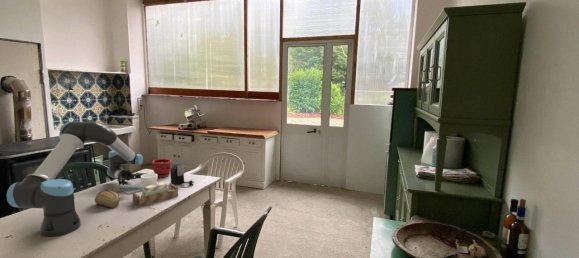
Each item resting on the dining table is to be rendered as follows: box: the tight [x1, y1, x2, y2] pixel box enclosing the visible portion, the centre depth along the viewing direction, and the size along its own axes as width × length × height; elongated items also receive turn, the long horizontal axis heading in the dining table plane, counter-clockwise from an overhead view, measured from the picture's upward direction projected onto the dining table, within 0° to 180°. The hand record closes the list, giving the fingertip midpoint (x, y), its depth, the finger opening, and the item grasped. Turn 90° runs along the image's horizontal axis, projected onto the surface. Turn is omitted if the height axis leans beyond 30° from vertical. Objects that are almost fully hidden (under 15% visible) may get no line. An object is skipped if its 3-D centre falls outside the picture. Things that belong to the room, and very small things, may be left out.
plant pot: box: [152, 158, 172, 178], centre depth 220 cm, size 13×13×12 cm
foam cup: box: [140, 172, 159, 191], centre depth 181 cm, size 10×9×13 cm
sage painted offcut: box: [141, 186, 170, 197], centre depth 175 cm, size 14×4×2 cm, turn 138°
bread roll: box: [94, 190, 120, 208], centre depth 166 cm, size 10×15×8 cm, turn 71°
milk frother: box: [169, 160, 195, 186], centre depth 204 cm, size 14×16×15 cm
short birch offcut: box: [144, 181, 168, 193], centre depth 175 cm, size 12×4×2 cm, turn 138°
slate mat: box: [118, 182, 143, 195], centre depth 193 cm, size 15×15×1 cm
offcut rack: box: [131, 183, 179, 208], centre depth 175 cm, size 24×8×6 cm, turn 138°
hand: (141, 181), depth 186 cm, fingers open, 13 cm apart
